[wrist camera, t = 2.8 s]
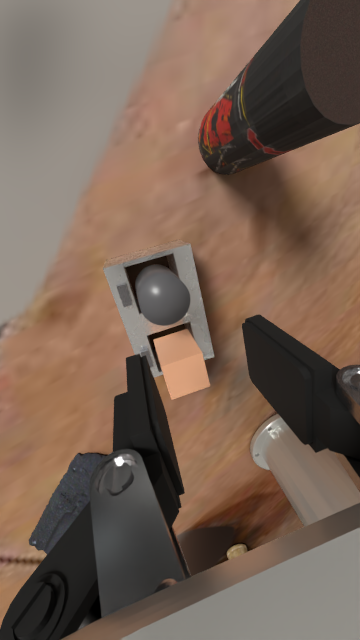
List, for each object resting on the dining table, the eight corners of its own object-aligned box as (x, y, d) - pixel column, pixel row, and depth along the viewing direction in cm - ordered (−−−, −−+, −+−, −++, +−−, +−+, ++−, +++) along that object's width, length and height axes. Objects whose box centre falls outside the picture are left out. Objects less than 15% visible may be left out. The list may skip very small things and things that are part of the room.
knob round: (170, 259, 22) (184, 269, 18) (180, 298, 24) (195, 317, 19) (129, 271, 22) (132, 284, 17) (142, 310, 23) (147, 332, 19)
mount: (178, 239, 27) (192, 244, 22) (201, 337, 32) (216, 359, 27) (105, 259, 26) (102, 269, 21) (141, 357, 31) (145, 383, 26)
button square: (187, 328, 25) (202, 352, 21) (194, 357, 27) (210, 386, 22) (153, 339, 25) (160, 366, 20) (162, 368, 26) (171, 399, 22)
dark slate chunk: (172, 462, 40) (178, 491, 36) (115, 550, 45) (115, 585, 41) (76, 442, 35) (70, 474, 30) (23, 545, 40) (12, 585, 35)
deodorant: (238, 185, 26) (365, 149, 13) (188, 156, 24) (275, 77, 11) (265, 124, 25) (441, 9, 11) (214, 87, 23) (354, -105, 9)
